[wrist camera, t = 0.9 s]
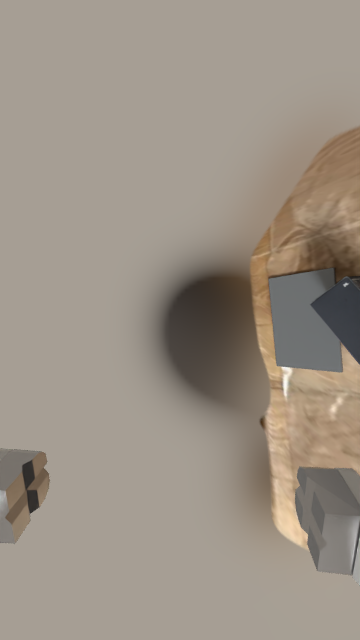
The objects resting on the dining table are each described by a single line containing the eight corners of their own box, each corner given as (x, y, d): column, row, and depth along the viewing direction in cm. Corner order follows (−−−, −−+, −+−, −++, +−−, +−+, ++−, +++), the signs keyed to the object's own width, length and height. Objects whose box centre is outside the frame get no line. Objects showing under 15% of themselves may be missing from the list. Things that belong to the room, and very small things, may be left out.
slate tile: (334, 267, 45) (333, 267, 44) (342, 371, 46) (341, 372, 45) (269, 278, 54) (268, 278, 53) (277, 365, 55) (276, 365, 54)
